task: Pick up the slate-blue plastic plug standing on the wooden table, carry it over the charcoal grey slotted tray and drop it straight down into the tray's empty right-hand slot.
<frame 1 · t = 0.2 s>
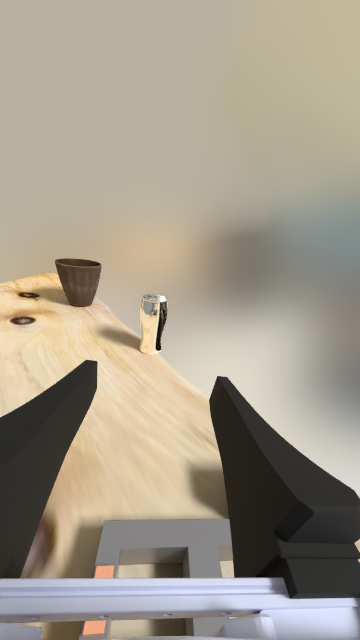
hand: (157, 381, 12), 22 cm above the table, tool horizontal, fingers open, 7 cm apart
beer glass: (150, 349, 54), on the table
plant pot: (81, 304, 76), on the table
grey slotted tray: (205, 606, 17), on the table
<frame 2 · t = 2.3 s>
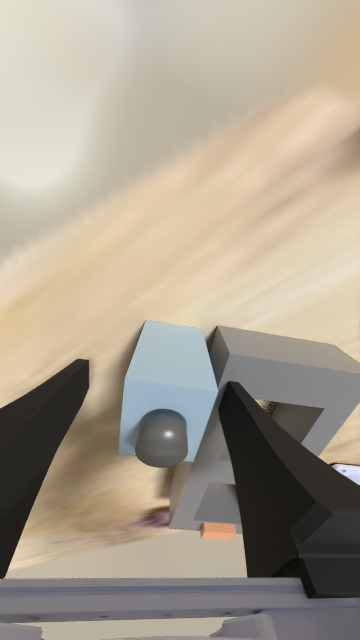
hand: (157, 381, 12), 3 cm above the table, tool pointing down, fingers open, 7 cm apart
plug: (168, 353, 15), on the table
grey slotted tray: (235, 428, 18), on the table
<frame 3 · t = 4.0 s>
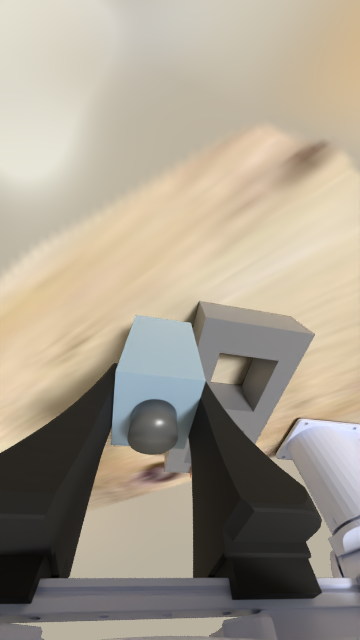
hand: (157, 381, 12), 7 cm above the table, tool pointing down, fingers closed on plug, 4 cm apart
plug: (159, 347, 15), point 4 cm above the table, touching gripper
grey slotted tray: (217, 389, 22), on the table
when the fingers open (4 cm above the table, at t = 6.6 s): plug stays where it is, resting in grey slotted tray.
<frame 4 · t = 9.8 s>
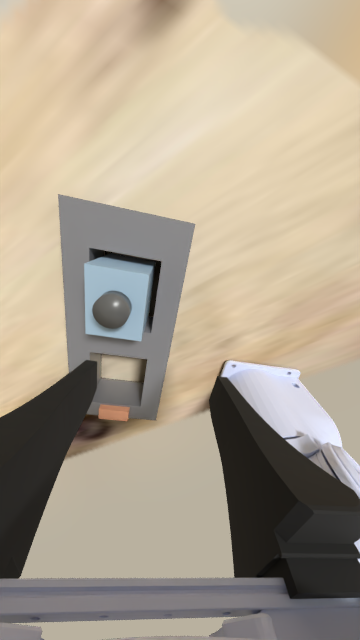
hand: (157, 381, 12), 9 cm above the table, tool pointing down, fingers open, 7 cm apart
plug: (131, 283, 19), resting in grey slotted tray
grey slotted tray: (128, 320, 20), on the table
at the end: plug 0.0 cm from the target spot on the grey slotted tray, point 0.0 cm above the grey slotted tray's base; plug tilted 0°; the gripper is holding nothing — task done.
